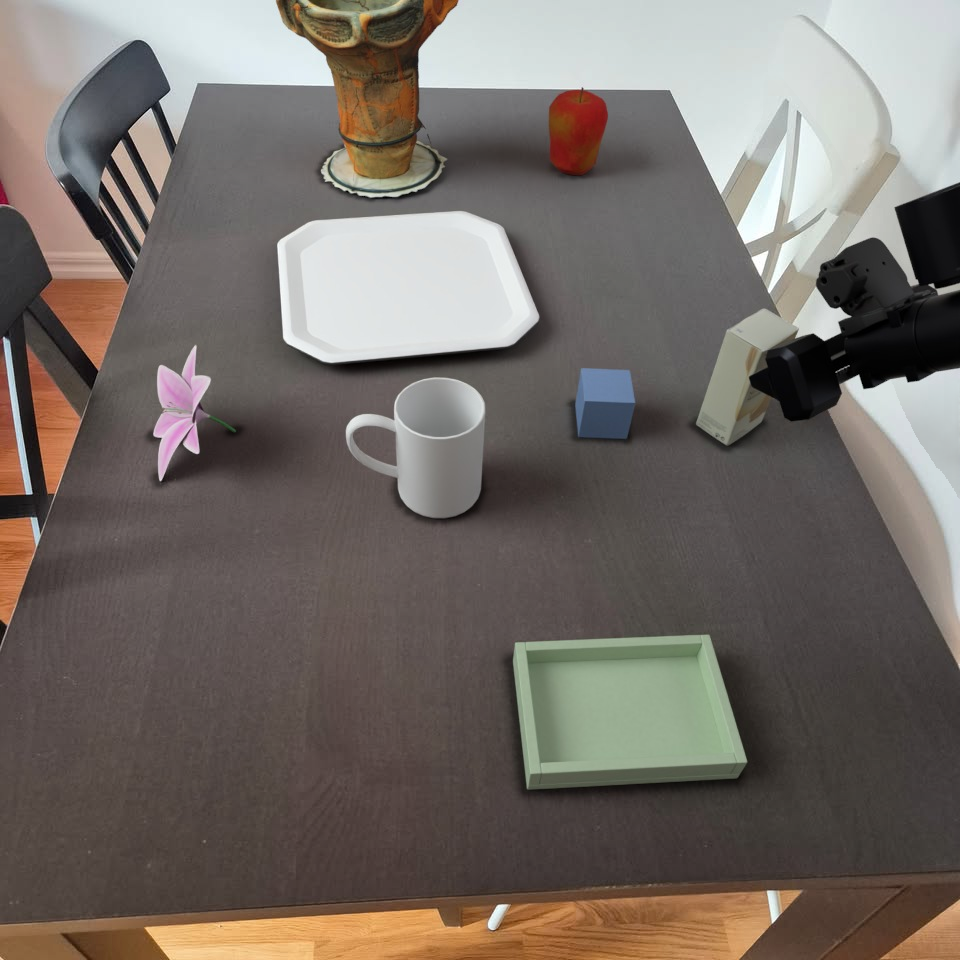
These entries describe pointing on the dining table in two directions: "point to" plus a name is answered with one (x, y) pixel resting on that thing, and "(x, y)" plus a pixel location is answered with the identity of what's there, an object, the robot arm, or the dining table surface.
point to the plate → (401, 288)
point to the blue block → (604, 403)
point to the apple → (576, 130)
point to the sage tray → (624, 712)
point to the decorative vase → (374, 87)
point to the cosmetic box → (741, 376)
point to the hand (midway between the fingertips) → (786, 365)
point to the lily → (180, 410)
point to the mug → (432, 446)
